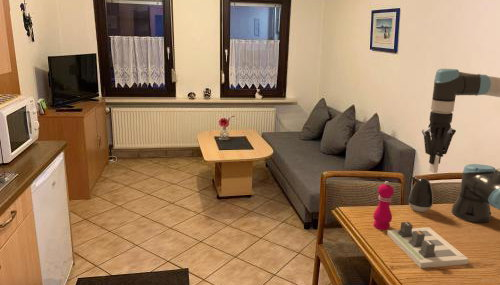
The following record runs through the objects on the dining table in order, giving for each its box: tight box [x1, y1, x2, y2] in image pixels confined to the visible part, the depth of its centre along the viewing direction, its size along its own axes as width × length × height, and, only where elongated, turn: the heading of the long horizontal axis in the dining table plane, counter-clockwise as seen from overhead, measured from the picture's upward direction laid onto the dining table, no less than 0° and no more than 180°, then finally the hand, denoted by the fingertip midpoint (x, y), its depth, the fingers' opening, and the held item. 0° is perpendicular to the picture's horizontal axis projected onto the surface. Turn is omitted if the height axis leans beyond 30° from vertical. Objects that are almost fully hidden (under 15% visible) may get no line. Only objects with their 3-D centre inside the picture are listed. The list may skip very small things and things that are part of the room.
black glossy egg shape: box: [407, 176, 434, 213], centre depth 177 cm, size 10×10×15 cm
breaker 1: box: [398, 221, 414, 237], centre depth 152 cm, size 4×3×5 cm
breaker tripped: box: [409, 231, 425, 246], centre depth 145 cm, size 4×3×5 cm
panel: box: [386, 226, 469, 269], centre depth 147 cm, size 18×23×2 cm
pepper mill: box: [372, 180, 395, 231], centre depth 160 cm, size 7×7×20 cm
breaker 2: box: [419, 240, 436, 257], centre depth 138 cm, size 4×3×5 cm
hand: (433, 171), depth 152 cm, fingers closed
